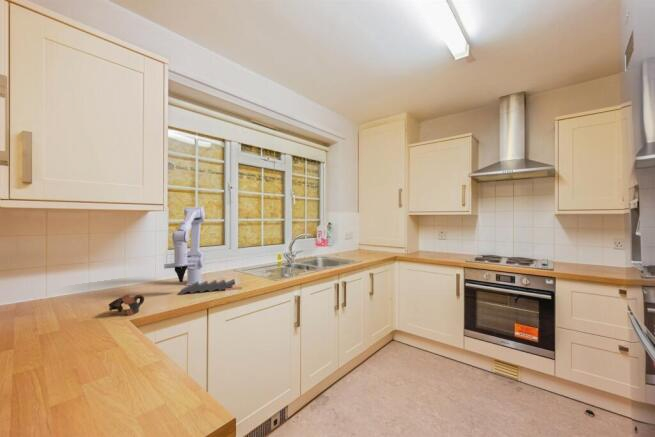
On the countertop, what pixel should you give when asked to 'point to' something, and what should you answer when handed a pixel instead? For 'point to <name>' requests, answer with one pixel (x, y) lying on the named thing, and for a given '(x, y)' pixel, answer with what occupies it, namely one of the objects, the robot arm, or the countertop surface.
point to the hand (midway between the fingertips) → (181, 281)
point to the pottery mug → (127, 300)
